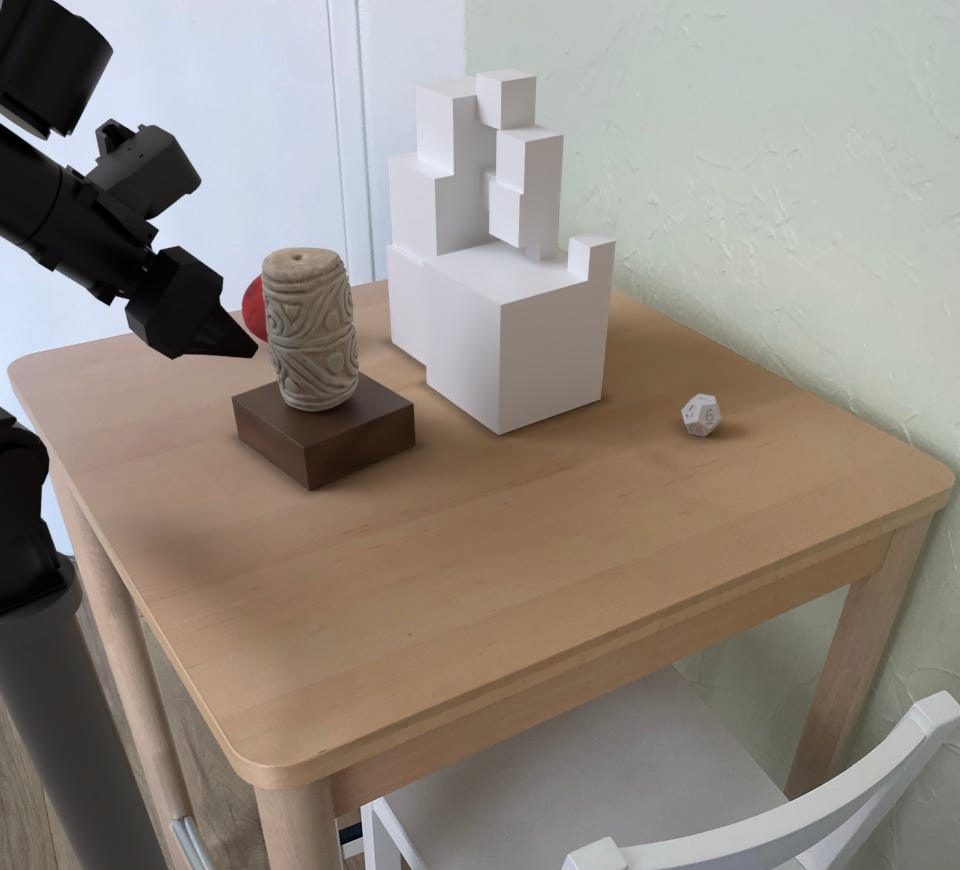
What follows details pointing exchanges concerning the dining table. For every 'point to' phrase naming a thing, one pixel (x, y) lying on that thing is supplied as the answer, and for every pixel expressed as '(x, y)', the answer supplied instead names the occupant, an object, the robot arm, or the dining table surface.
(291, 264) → the carving
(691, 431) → the game die
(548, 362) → the building blocks
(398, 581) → the dining table surface
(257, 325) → the onion
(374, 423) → the walnut block
